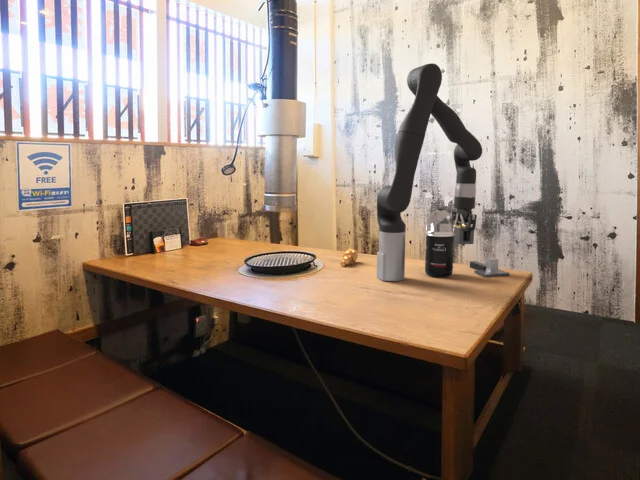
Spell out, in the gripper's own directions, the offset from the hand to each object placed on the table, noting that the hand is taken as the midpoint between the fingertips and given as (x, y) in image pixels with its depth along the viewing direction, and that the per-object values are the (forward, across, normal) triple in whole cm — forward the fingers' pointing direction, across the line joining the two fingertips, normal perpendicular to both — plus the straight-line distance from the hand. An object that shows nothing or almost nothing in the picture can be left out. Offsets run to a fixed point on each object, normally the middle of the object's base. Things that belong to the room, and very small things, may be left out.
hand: (462, 239), depth 169 cm
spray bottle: (+13, +4, -11) cm, 17 cm away
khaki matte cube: (+1, 0, 0) cm, 1 cm away
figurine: (+13, -23, -38) cm, 46 cm away
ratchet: (+12, +3, +9) cm, 15 cm away
